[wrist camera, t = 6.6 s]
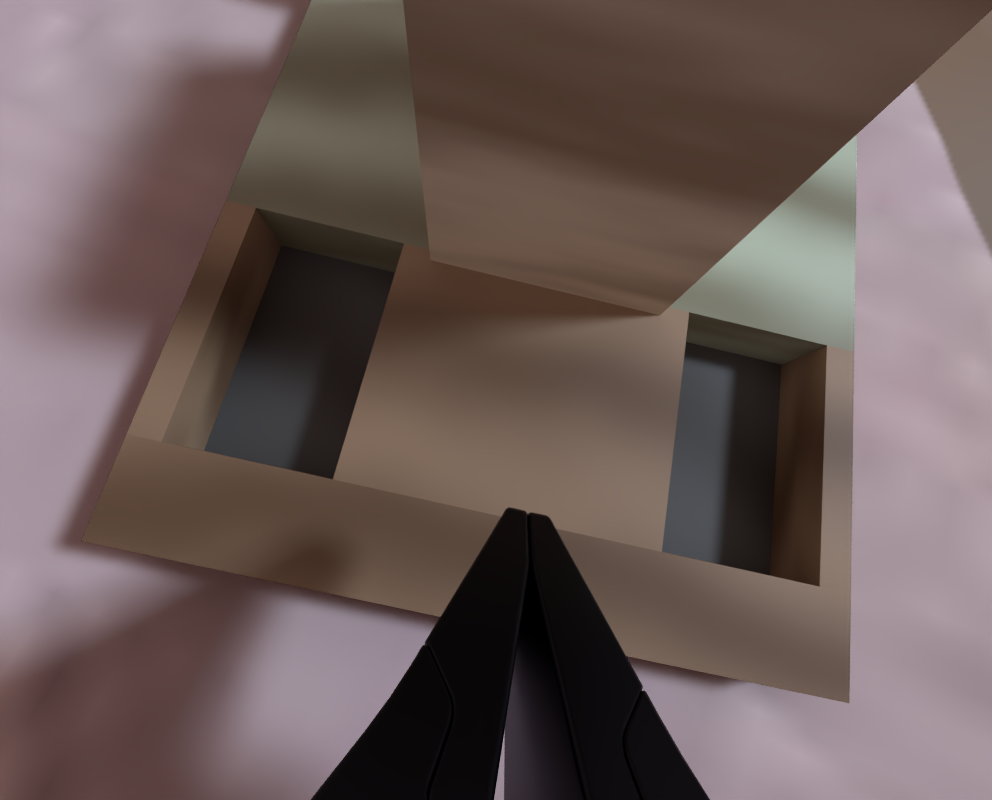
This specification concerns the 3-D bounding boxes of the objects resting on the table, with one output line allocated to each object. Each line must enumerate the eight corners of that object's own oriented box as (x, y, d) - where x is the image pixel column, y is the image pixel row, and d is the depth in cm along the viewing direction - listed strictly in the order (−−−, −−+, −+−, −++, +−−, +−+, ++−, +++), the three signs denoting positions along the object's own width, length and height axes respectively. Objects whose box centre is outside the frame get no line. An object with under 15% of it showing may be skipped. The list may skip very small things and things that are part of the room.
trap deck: (786, 670, 15) (966, 762, 10) (144, 534, 14) (-41, 552, 9) (812, 101, 21) (931, -35, 16) (361, -17, 20) (327, -202, 15)
